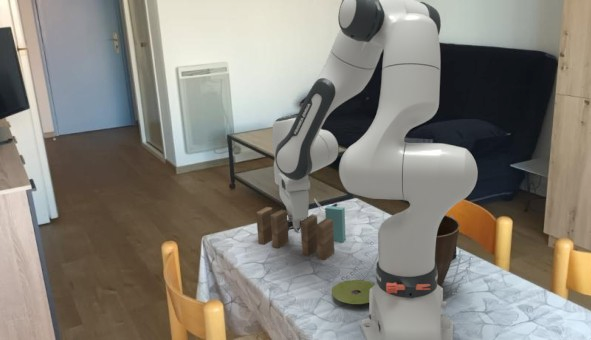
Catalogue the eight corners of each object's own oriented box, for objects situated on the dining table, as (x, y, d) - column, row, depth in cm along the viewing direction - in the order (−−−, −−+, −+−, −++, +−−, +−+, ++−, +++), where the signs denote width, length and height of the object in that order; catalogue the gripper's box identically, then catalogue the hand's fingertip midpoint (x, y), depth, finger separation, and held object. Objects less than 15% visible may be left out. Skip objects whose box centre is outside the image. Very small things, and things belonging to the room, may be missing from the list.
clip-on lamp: (314, 213, 185) (283, 233, 171) (313, 194, 184) (281, 214, 170) (346, 217, 179) (316, 239, 165) (345, 198, 177) (314, 218, 163)
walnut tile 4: (318, 250, 157) (317, 216, 154) (308, 257, 153) (306, 222, 150) (312, 249, 158) (310, 215, 155) (302, 255, 154) (300, 221, 151)
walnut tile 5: (334, 254, 154) (332, 219, 151) (324, 261, 150) (322, 225, 147) (328, 252, 155) (326, 218, 152) (318, 259, 151) (316, 224, 149)
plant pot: (465, 279, 136) (467, 216, 132) (447, 309, 124) (448, 240, 120) (405, 268, 144) (405, 208, 139) (382, 294, 131) (381, 230, 127)
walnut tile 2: (288, 243, 163) (286, 210, 160) (278, 250, 159) (276, 216, 156) (283, 242, 164) (281, 209, 161) (272, 248, 160) (270, 215, 157)
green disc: (345, 282, 138) (345, 275, 137) (389, 293, 132) (389, 285, 132) (322, 304, 129) (322, 296, 128) (368, 316, 123) (368, 308, 123)
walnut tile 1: (274, 240, 165) (272, 207, 163) (264, 246, 161) (261, 213, 159) (269, 239, 166) (266, 206, 164) (258, 245, 163) (256, 212, 160)
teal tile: (329, 238, 164) (327, 205, 162) (345, 240, 162) (344, 207, 160) (326, 241, 163) (325, 208, 160) (343, 243, 161) (341, 209, 158)
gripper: (272, 166, 161) (275, 212, 165) (287, 187, 142) (290, 239, 146) (294, 164, 163) (296, 210, 167) (311, 184, 143) (314, 236, 147)
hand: (294, 224), depth 156 cm, fingers open, 4 cm apart
